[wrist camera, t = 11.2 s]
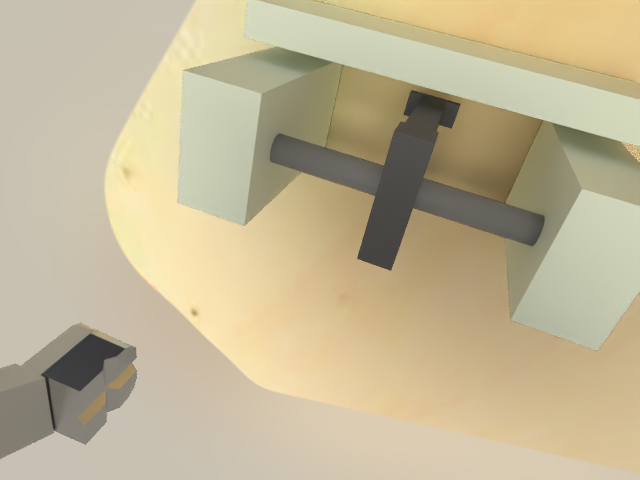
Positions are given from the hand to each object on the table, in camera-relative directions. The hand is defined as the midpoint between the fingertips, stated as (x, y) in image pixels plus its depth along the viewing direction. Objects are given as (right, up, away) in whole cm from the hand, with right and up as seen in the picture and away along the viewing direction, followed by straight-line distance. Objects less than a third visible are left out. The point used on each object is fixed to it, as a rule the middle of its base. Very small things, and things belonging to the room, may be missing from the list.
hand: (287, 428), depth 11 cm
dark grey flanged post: (+7, +10, +19) cm, 23 cm away
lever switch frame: (+9, +13, +22) cm, 27 cm away
